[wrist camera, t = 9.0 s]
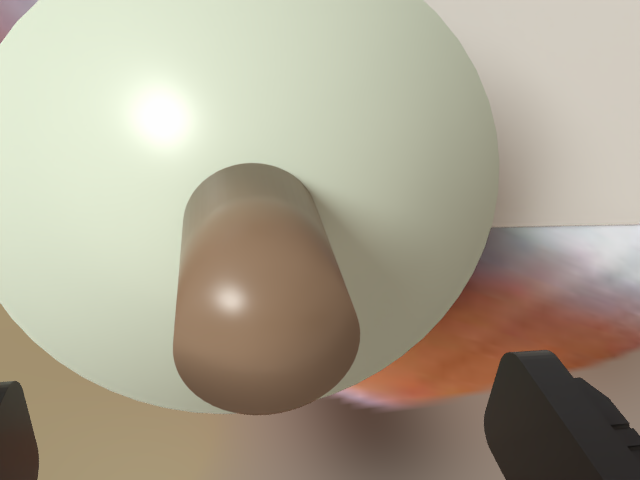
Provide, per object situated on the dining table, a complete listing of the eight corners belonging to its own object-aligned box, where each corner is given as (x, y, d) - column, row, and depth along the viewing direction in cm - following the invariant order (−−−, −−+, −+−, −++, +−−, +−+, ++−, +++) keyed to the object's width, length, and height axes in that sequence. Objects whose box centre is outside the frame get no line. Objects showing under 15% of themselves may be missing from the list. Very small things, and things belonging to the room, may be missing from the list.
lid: (537, -51, 14) (732, -33, 9) (439, 376, 21) (516, 528, 15) (-100, -99, 11) (-359, -113, 6) (29, 407, 18) (-41, 601, 13)
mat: (781, -116, 24) (791, -117, 23) (647, 219, 32) (653, 224, 31) (422, -156, 21) (427, -158, 20) (372, 225, 29) (375, 229, 28)
